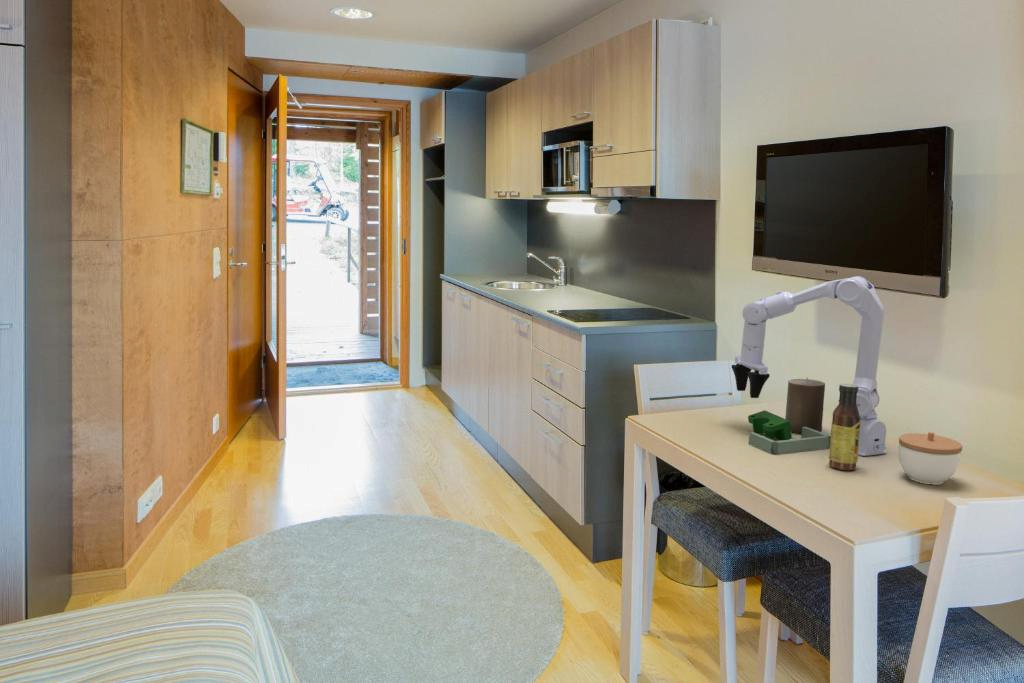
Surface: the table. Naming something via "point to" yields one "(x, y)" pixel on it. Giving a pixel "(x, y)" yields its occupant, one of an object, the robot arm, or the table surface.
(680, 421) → the table surface
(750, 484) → the table surface
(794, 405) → the pillar candle
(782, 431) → the clamp
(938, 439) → the lidded bowl
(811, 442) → the bracket
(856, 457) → the sauce bottle
